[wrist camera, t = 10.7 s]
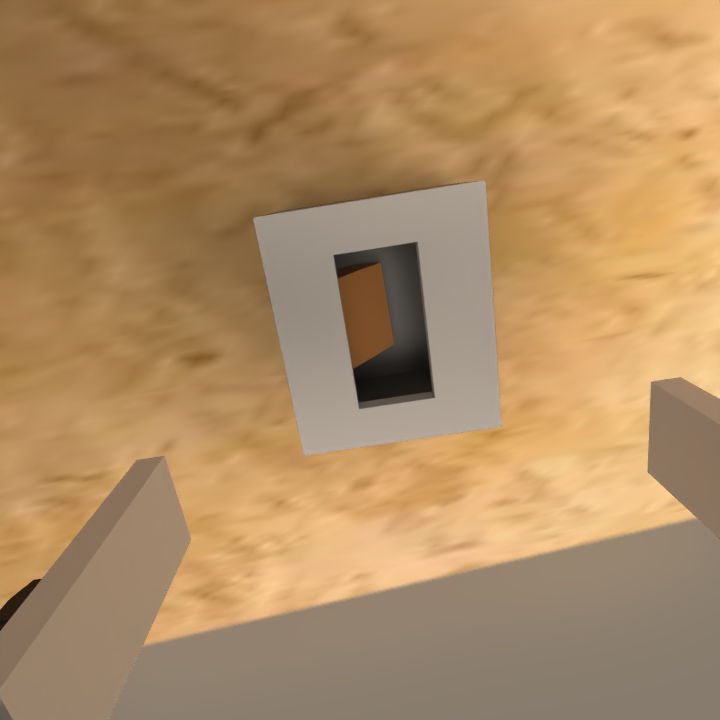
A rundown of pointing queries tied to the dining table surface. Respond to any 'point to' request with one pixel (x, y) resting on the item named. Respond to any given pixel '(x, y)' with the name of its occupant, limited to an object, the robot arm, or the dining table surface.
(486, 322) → the box with rectangular hole
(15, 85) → the dining table surface
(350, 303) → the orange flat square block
